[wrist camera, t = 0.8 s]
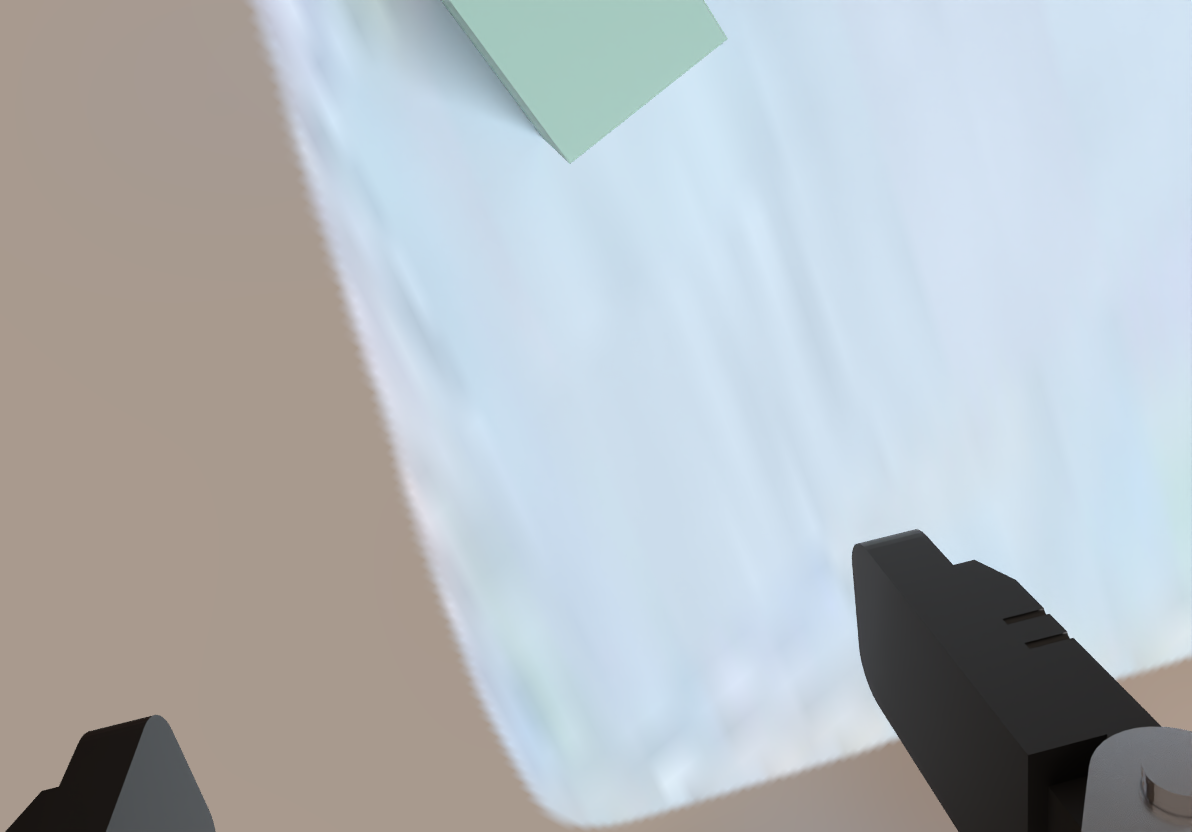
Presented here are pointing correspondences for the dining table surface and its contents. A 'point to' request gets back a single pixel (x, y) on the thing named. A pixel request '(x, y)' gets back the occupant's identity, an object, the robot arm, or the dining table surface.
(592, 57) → the teal cube
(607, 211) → the dining table surface
